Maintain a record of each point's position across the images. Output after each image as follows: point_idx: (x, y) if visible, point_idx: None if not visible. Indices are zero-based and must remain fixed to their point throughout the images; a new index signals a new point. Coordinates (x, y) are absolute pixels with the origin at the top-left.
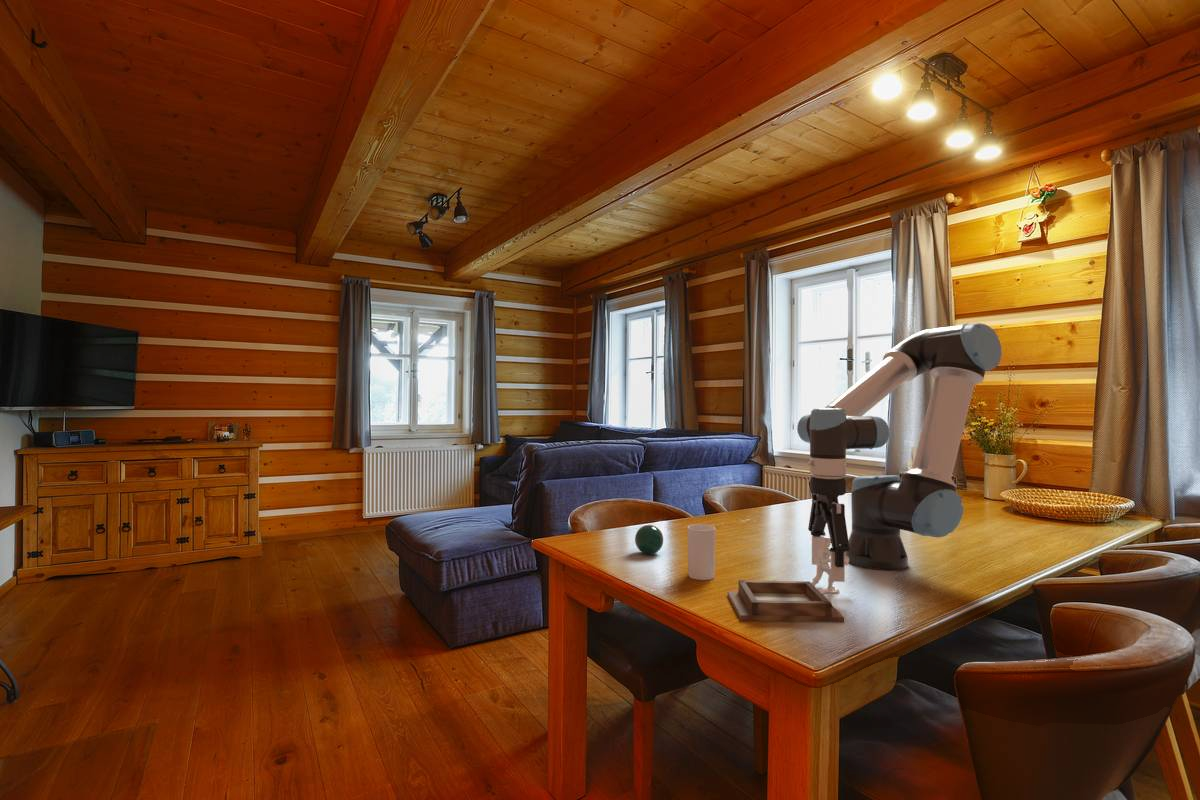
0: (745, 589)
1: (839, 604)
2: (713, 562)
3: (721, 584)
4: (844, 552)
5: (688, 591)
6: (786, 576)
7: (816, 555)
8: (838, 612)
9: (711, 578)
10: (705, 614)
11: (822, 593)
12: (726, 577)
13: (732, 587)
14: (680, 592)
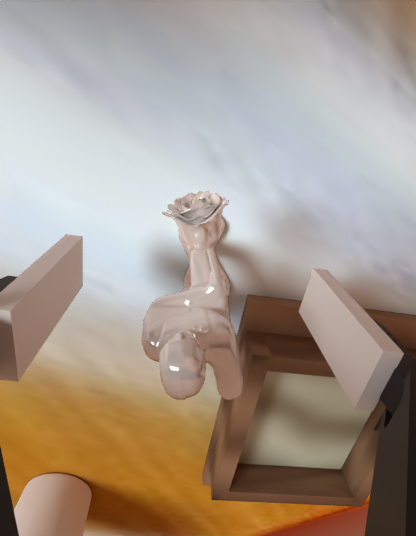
0: (280, 500)
1: (315, 267)
2: (61, 525)
3: (122, 469)
4: (399, 349)
5: (168, 521)
6: None
7: (66, 292)
8: (405, 323)
9: (82, 482)
10: (294, 515)
11: (226, 278)
12: (62, 451)
13: (145, 455)
14: (173, 530)
